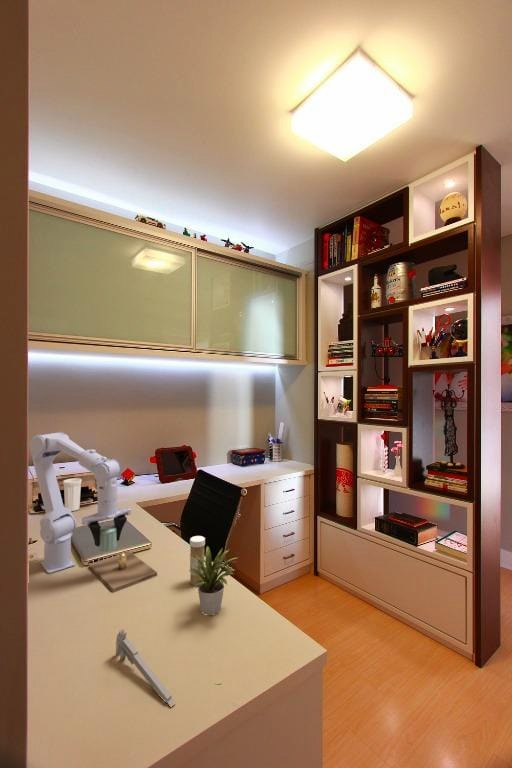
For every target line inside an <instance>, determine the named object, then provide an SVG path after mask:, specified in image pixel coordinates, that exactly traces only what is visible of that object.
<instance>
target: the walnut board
mask: <svg viewBox="0 0 512 768" xmlns="http://www.w3.org/2000/svg"><path fill="white" fill-rule="evenodd" d="M124 553H125V554H126V569H124V570H119V569H118V557H119V555H120V554H117V555H114V556H112V557H108V558H105V559H101V560H99V561H96V562H92V563H89V564H88V568H89V569H90V570H91V571H92V572H93V573H94V575H95V576H96V577H97V578H98V579H100V580H101V582H102V583H103V584H104V585H105V586H107V587H106V588H108V589H109V591H111V592H112V593H115V592H118V591H120V590H123V589H126V588H128V587H131V586H133V585H136V584H139V583H142V582H144V581H146V580H149V579H152V578H154V577H157V576H158V572H157V571H156V570H155V569H154V568H152V567H151V566H150V565H148V564H147V563H146V562H144V561H143V560H142V559H140V558H139V557H138V556H136V555H135V554H134V553H132V552H131V551H128V552H124Z"/></svg>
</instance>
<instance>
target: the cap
mask: <svg viewBox="0 0 512 768" xmlns="http://www.w3.org/2000/svg"><path fill="white" fill-rule="evenodd" d="M99 537H100V545H99V546H96V550H97V551H98V552H101V553H103V552H111V551H114V550H115V549H116V548H117V546H118V544H117V543H118V541H117V527H116V526H114V524H111V525H103V526H101V528H100V536H99Z"/></svg>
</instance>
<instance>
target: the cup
mask: <svg viewBox="0 0 512 768" xmlns="http://www.w3.org/2000/svg"><path fill="white" fill-rule="evenodd" d="M82 481H83V479H82V478H79V477H77V478H76V477H75V478H68V479H64V480H63V481H62V482H63V483H62V484H63V491H64V493H63V495H64V507H65V508H68V509H70V510H71V512H74V511H78V510H80V503H81V489H82V488H81V487H82Z"/></svg>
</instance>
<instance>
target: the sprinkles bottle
mask: <svg viewBox="0 0 512 768" xmlns="http://www.w3.org/2000/svg"><path fill="white" fill-rule="evenodd" d="M205 545H206V537H204V536H202V535H195V536H192V537H190V539H189V546H190V554H189V560H190V561H189V570H191V569H196V570H197V571H199V572H200V573H201V571H202V570H201V568H200V567H199V569H200V570H201V571H200V570H199V569H198V568H197V567H198V566H200V565H199V564H200V563H199V562H198V560H197V558H196V557H195V556H194V554H195V555H197V556H198V557H199V558H201V561H202V562H203V564H204V565H205V561H204V560H205ZM203 559H204V560H203ZM195 561H196V562H195ZM197 562H198V563H199V564H198V563H197ZM192 563H193V564H195V565H196V566H197V567H195V565H193V564H192ZM193 567H194V568H193ZM189 573H190V575H189V576H190V577H189V578H190V580H189V583H190V585H192V586H194V587H195V586H197V581H198V580H202V579H201V577H200V576H198V575H196V574H194V573H192V572H190V571H189ZM202 573H203V571H202ZM202 573H201V574H202ZM202 575H204V573H203V574H202ZM203 577H205V576H203ZM202 581H203V580H202Z"/></svg>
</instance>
